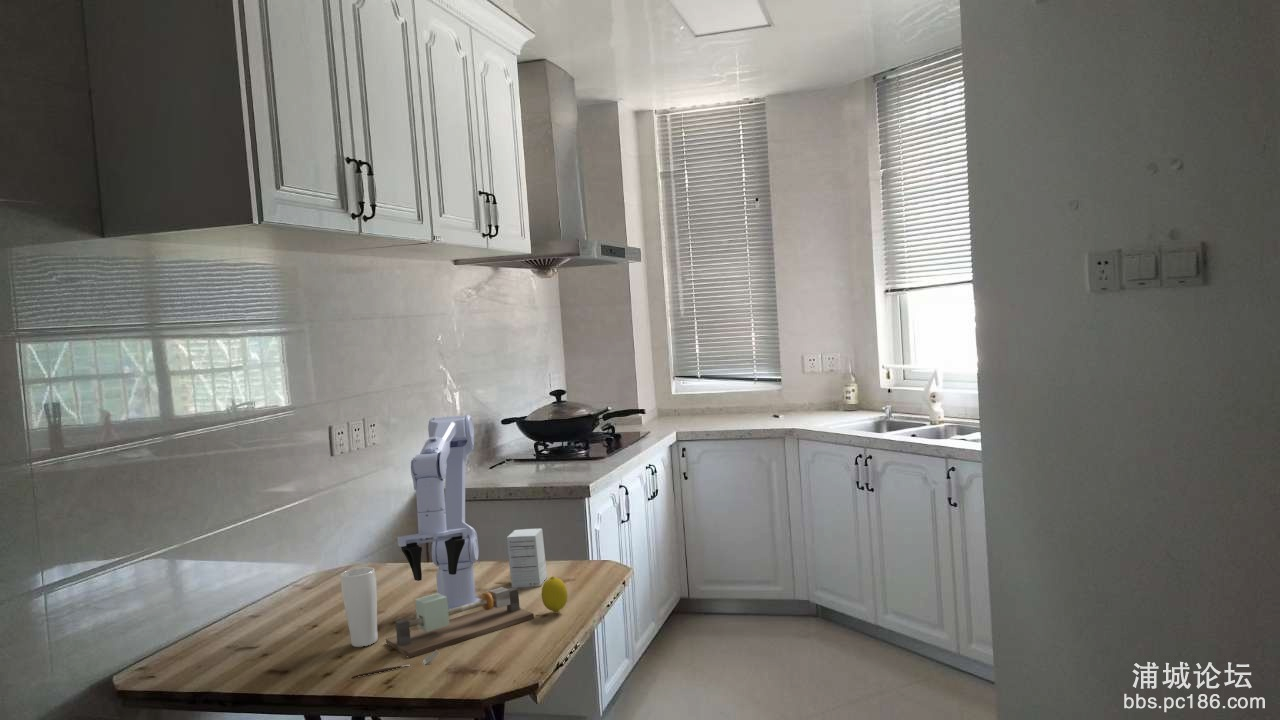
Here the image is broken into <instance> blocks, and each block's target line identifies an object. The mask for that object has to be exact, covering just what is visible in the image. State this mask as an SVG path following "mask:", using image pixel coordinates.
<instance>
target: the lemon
mask: <svg viewBox="0 0 1280 720" xmlns="http://www.w3.org/2000/svg"><path fill="white" fill-rule="evenodd" d="M541 600H542V603H543V605H544V606H545V608H546V609H548V610H550V611H551V612H553V613H554V612H555V613H554V614H557V613H556V612H558V613H559V611H560V610H561V609H564V607H565V606H566V604H567V602H568V601H567V600H568V590H567V587H566V584H565V582H564V581H563V580H562V579H560V578H559V577H555V576H554V575H553V576H551V577H550V578H548V579H547V580H546V581H544V582H543V584H542V589H541Z"/></svg>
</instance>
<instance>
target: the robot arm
mask: <svg viewBox="0 0 1280 720" xmlns="http://www.w3.org/2000/svg"><path fill="white" fill-rule="evenodd" d="M427 427H428V429H427V430H428V437H429V438H428V439H427V440H426V441H425V442H424V444H423V447H422V449H421V451H420V453H419V454H416V455H414V457H411V460H410V473H411V478H412V483H413V489H414V490H413V491H415V495H416V496H415V497H416V513H417V514H416V515H417V529H418V530H417V531H418V533H413V534H407V535H401V536H397V546H398V547H401V549H400V550H401V552H402V553H403V556H405V558H406V560H407V562H408V564H409V566H410V568H411V572H412V576H413V580H414V581H417V582H419V581H422V578H423V576H422V575H423V574H422V553H423V551H422V550H423V547H422V546H419V545H420V544H426V543H432V544H431V559H432V563H433V564H434V565H435V566H436V567H438V570H437V572H436V576H435V577H436V588H437V593H439V594H441V595H443V596H446V597H447V604H448V610H449V609H452V608H456V607H459V606H463V605H466V604H469V603H473V602H476V601H480V600H481V598H479V597H477V594H476V585H475V584H476V583H475V575H474V564H476V562H477V561H478V559H479V542H478V533H477V531H476V529H475V528H474V527H473V526H471V525H470V524H468V523H466V463H467V456H468V455H469V454H470V453H471V452H473V451H474V445H475V428H474V420H473V417H472V416H471V415H470V414H469V413H467V414H462V415H452V416H441V417H434V416H433V417H431V418H430V419H429V421H428V425H427ZM444 480H445V483H444Z"/></svg>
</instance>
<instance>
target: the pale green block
mask: <svg viewBox="0 0 1280 720" xmlns="http://www.w3.org/2000/svg"><path fill="white" fill-rule="evenodd" d="M414 602H415V603H414V604H415V611H416V614H415V615H416V619H418V618H422V617H423V624H419V625H417V628H418V629H422V630H424V631H426V632H428V631H431V630H434V629H438V628H441V627H444V626H448V625H450V624H449V620H450V616H449V614H448V604H447V597H446V596H443V595H441V594H439V593H438V592H436V593H433V594H429V595H425V596H422V597H418V598H415V599H414Z"/></svg>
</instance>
